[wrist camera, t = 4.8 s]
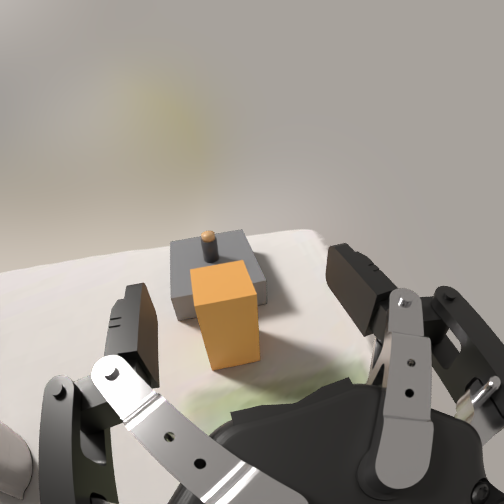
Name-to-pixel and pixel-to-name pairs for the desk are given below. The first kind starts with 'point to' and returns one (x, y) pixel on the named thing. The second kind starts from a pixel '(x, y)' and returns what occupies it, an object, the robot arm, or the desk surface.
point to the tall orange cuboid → (227, 313)
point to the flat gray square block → (207, 254)
